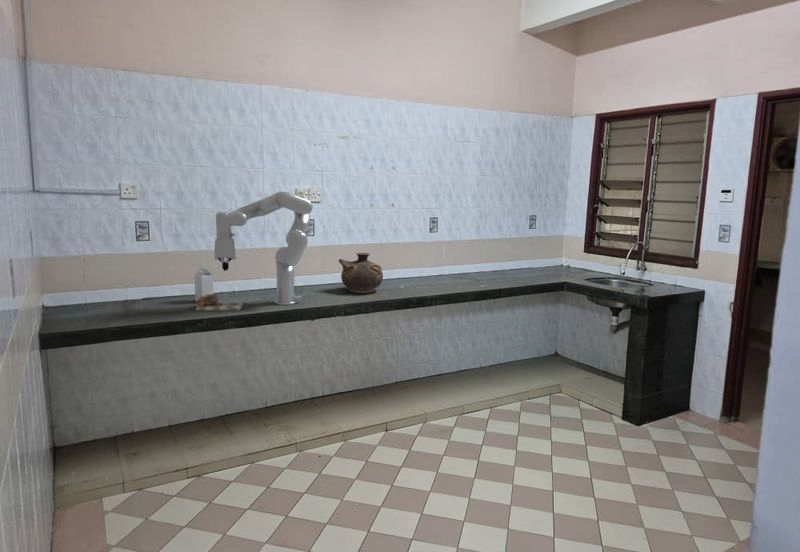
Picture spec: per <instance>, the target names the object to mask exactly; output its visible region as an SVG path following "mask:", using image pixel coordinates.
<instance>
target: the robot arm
mask: <svg viewBox="0 0 800 552" xmlns="http://www.w3.org/2000/svg"><path fill="white" fill-rule="evenodd" d="M282 208H285V209H287V210H289V211H293V213H294V220H293V223H292V225H291V227H290V229H289V231H288V232H287V234H286V236H285V242H286V244H287V247H285V246H283V247H280V248H279V249H277V251H276V252H275V257H274V258H275V265H276V299H274V300H273V303H274V304H276V305H282V306H283V305H284V306H285V305H286V306H289V305H295V304H296V303H297V300H298V301H301V300H303V296H301V295H296V294H295V268H294V266H297V264H298V263H299V262H300V260H301V257H302V256H303V254H304V251H305V250H306V248H307V245H308V242H309V240H308V236H307V235H306V233H307V231H308V228H309V226H310V223H311V222H310V221H311V220H310V219H311V218H310V214H311V212H312V211H313V204H312V202H311V201H310V200H309V199H306V198H304V197H302V196H298V195H295V194H293V193H291V192H287V191H278V192H275V193H273V194H271V195H269V196H267V197H264V198H262V199H260V200H258V201H255V202H252V203H249V204H247V205H244V206H241V207H239V208H237V209H235V210H233V211H231V212H227V211H221V212H216V214H215V225H216V226H215V228H216V238H215V241H214V260H217V261H219V262H221V266H222V269H223V271H224V272H225V271H228V270H229V267H230V266H229V265H230V264H229V262H231V261H233V260H236V258H237V257H236V247H235V246H236V244H235V239H234V237H235V233H233V232H232V227H242V226H245V225H246V224H247V222H248V221H249V220H251V219H253V218H257V217H258V218H259V217H265V216H267V215H269V214H272V213H274V212H276V211H278V210H280V209H282ZM225 258H226V259H225Z"/></svg>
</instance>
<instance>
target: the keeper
mask: <svg viewBox="0 0 800 552" xmlns="http://www.w3.org/2000/svg"><path fill="white" fill-rule="evenodd" d="M217 303H219V294H218V293H215V294H214V293H213V294H207V295H206V296H205V305H217Z"/></svg>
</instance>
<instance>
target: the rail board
mask: <svg viewBox="0 0 800 552" xmlns="http://www.w3.org/2000/svg"><path fill="white" fill-rule="evenodd" d="M242 307H243V302H218V303H217V305H205V296H201V297H200V298H199V299H198V302H197V306H196V311H240V310H241V309H242Z"/></svg>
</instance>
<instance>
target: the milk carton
mask: <svg viewBox="0 0 800 552" xmlns="http://www.w3.org/2000/svg"><path fill="white" fill-rule="evenodd" d="M207 294H214V275H213V274H212V273H211V272H210V271H208V268H205V267H202V266H200V267H199V269H198V271H197V272H196V273H195V274H194V298H195V299H194V300H195V302H197V303H198V299H199V298H200V297H201V296H206V295H207Z"/></svg>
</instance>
